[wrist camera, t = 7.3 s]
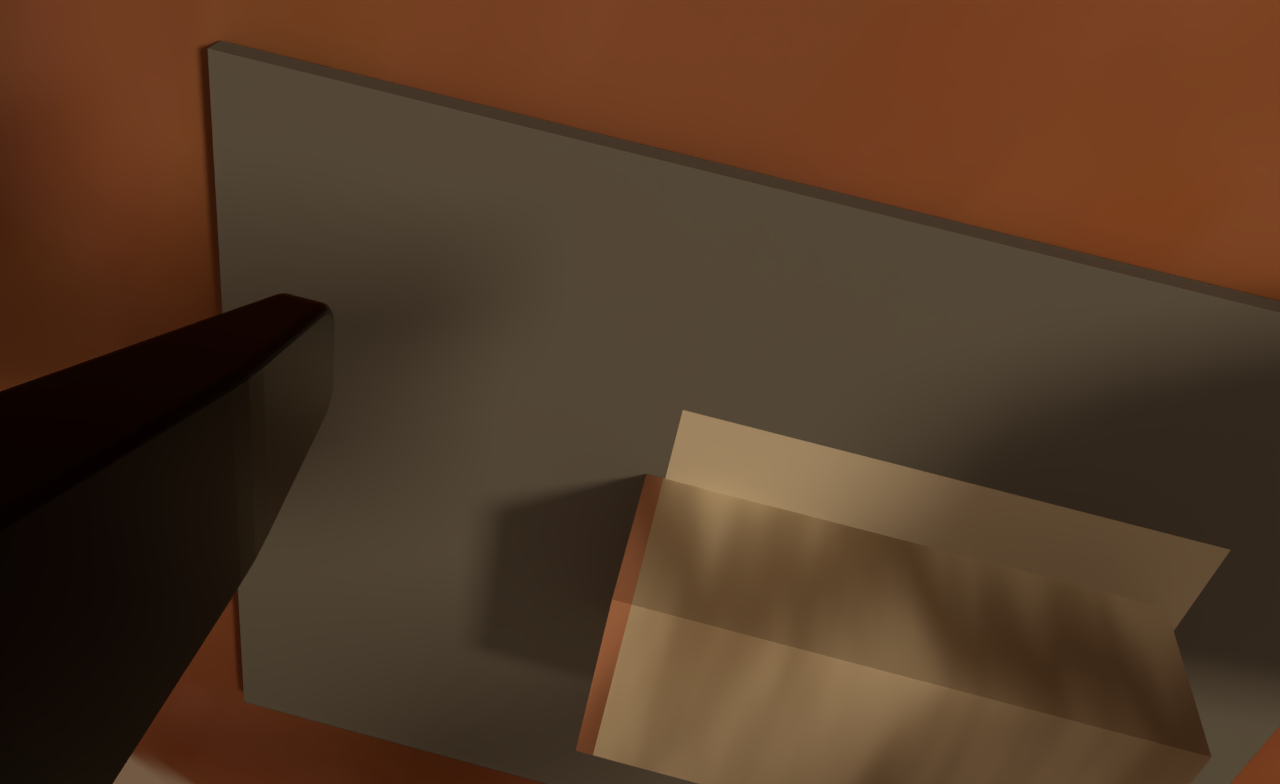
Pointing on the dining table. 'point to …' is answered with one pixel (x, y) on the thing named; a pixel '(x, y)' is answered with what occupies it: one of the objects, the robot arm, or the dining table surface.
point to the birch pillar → (872, 661)
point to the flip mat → (697, 407)
